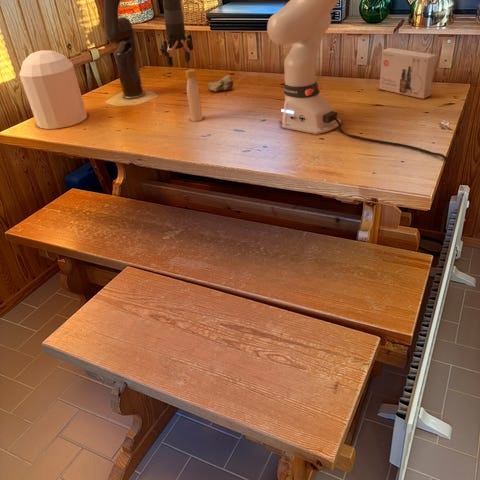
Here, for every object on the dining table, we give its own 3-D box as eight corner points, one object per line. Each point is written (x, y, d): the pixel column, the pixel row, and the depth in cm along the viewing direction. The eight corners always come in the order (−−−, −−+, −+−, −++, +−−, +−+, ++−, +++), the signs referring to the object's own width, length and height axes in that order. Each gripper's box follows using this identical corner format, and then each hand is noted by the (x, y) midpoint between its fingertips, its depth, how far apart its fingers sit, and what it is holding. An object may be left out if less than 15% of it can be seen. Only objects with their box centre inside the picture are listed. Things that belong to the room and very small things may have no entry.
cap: (195, 74, 176) (194, 68, 175) (196, 77, 173) (195, 71, 172) (185, 76, 176) (184, 70, 175) (186, 78, 173) (185, 72, 171)
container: (71, 129, 186) (49, 56, 170) (26, 128, 191) (0, 58, 175) (96, 110, 202) (78, 43, 186) (54, 111, 207) (33, 45, 191)
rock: (207, 90, 217) (212, 93, 208) (206, 76, 214) (210, 78, 205) (229, 87, 219) (235, 90, 210) (228, 73, 216) (233, 75, 207)
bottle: (201, 116, 186) (195, 69, 176) (203, 120, 182) (197, 72, 172) (189, 118, 186) (182, 71, 175) (191, 122, 182) (184, 74, 171)
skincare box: (377, 89, 194) (381, 50, 185) (385, 86, 197) (389, 47, 188) (423, 99, 180) (429, 56, 171) (430, 95, 183) (437, 53, 174)
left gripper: (183, 17, 190) (187, 58, 199) (154, 23, 182) (160, 65, 191) (194, 19, 185) (198, 61, 194) (164, 25, 177) (170, 69, 187)
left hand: (179, 63), depth 193 cm, fingers open, 8 cm apart
